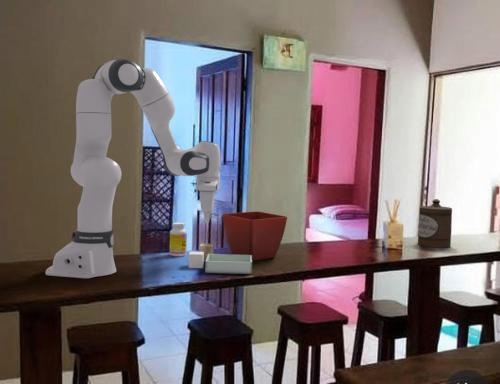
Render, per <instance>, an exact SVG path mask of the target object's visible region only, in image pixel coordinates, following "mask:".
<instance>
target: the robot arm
mask: <svg viewBox="0 0 500 384" xmlns="http://www.w3.org/2000/svg"><path fill="white" fill-rule="evenodd" d="M126 93H131V94H132V95H133V96H134V98H135V99H136V100H137V103H138V105H139V106H140V108H141V110H142V112H143V114H144V116H145V118H146V120H147V121H148V124H149V126H150V129H151V132H152V135H153V136H154V138H155V141H156V143H157V145H158V147H159V150H160V152H161V155H162V162H163V167H164V169H165V171H166V172H167V173H168V174H169V175H171V176H175V177H178V176H179V177H181V176H182V177H194V176H196V189H197V190H198V191H199V200H200V201H199V202H200V211H201V212H203V216H204V217H203V220H204V223H205V224H209V223H210V220H211V219H212V211H213V209H214V207H215V195H217V193H218V192H217V191H218V190H221V174H220V169H221V165H222V164H221V162H222V161H221V160H222V157H221V148H220V146H219V145H218V143H215V142H212V141H207V140H205V141H204V140H202V141H200V142H199V143H198V144H196V145H195V146H192V147H190V148H188V149H182V148H180V147H179V146H178V144H177V143H176V140H175V137H174V136H173V134H172V131H171V128H170V122H171V120H172V119H173V117H174V116H175V113H176V107H175V104H174V103H175V102H174V100H173V98H172V97H171V94H170V92H169V91H168V89H167V86H166V85H165V84H164V82H163V80H162V79H161V77H160V76H159V74H158V73H157V72H156V70H154V69H152V68H149V67H146V68H145V67H144V68H142V67H140V66H139V65H138V64H137V63H136V62H134V61H132V60H131V59H127V58H118V59H113V60H110V61H107V62H105V63H102V64H101V65H100V66H99V67H98V68H97V69H96V71H95V72H94V75H93V77H92V78H89V79H85V80H83V81H81V82H80V83H79V85H78V87H77V93H76V101H75V116H76V118H75V121H76V122H75V123H76V129H75V130H76V138H75V141H76V142H75V147H74V152H73V153H74V154H73V161H72V164H71V166H70V175H71V177H72V179H73V180H74V182H75V183H77V184H78V185H79V186H81V187H83V188H82V193H81V197H80V201H79V204H78V206H77V229H75V230H73V232H71V233H70V235H69V236H70V238H71V242H69V243H68V244H66V245H65V246H64V247H62V248H61V249H60V250H58V251H57V252H56V253H55V254H54V258H53V261H52V265H51V266H49V267H48V268H46V270H45V275H46V276H52V277H53V276H54V277H62V278H63V277H65V278H75V279H76V278H77V279H91V278H95V277H103V276H108V275H113V274H114V273H116V272H117V268H116V264H115V261H114V260H115V259H114V253H113V246H114V229H112V228H113V207H114V206H113V205H114V201H115V196H116V195H115V194H116V191H117V186H118V185H119V183H120V182H121V179H122V169H121V166H120V165H119V164H118V163H117V162H116V161H114V160H113V159H112V158H110V157H107V154H108V149H109V145H110V142H111V141H112V136H113V135H112V106H111V105H112V99H113V97H114V96H115V95H122V94H126Z"/></svg>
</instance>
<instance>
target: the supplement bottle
mask: <svg viewBox="0 0 500 384" xmlns="http://www.w3.org/2000/svg"><path fill="white" fill-rule="evenodd" d="M187 235H188V232H187V230H186V229H185V222H172V229H170V231H169V255H170V256H171V257H185V256H187V241H188V240H187V239H188V236H187Z"/></svg>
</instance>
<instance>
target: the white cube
mask: <svg viewBox="0 0 500 384" xmlns="http://www.w3.org/2000/svg"><path fill="white" fill-rule="evenodd" d="M204 264H205V263H204V252H200V251H189V253H188V269H203V268H204Z"/></svg>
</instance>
